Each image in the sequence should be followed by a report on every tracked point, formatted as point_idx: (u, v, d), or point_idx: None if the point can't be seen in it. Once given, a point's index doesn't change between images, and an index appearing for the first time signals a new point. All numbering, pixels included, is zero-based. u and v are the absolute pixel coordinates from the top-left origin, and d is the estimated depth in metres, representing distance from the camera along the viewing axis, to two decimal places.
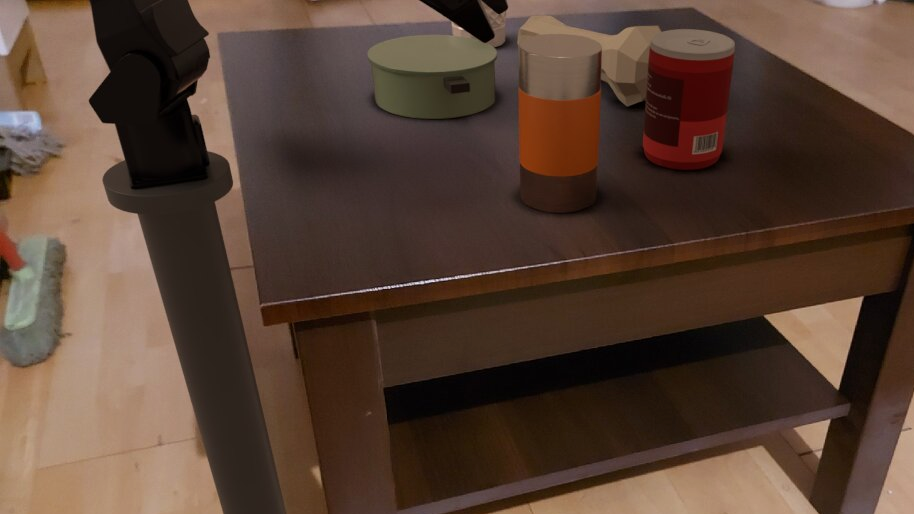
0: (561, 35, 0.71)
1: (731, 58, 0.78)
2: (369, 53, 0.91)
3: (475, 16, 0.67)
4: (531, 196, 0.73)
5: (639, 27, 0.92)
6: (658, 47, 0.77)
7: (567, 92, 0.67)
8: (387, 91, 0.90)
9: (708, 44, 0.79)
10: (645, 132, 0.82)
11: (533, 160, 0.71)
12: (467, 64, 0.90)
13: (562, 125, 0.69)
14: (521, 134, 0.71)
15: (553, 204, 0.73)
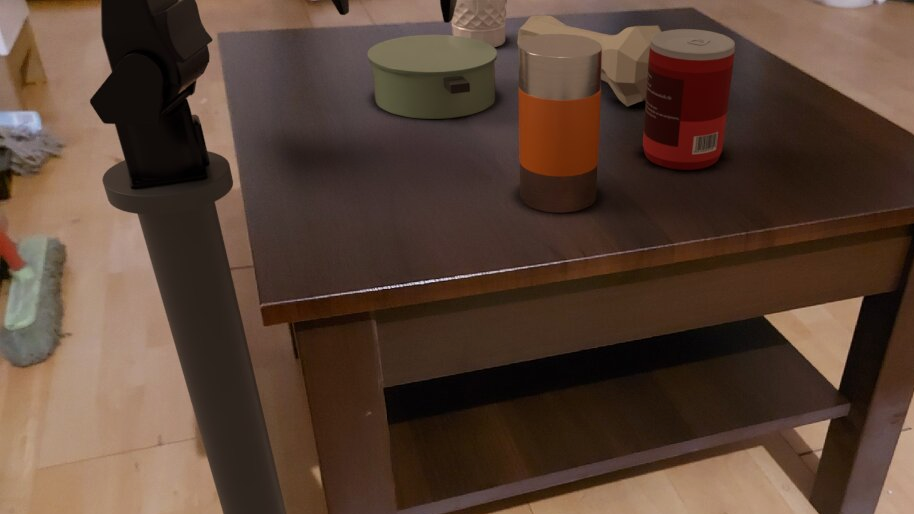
0: (561, 35, 0.71)
1: (731, 58, 0.78)
2: (369, 53, 0.91)
3: None
4: (531, 196, 0.73)
5: (639, 27, 0.92)
6: (658, 47, 0.77)
7: (567, 92, 0.67)
8: (387, 91, 0.90)
9: (708, 44, 0.79)
10: (645, 132, 0.82)
11: (533, 160, 0.71)
12: (467, 64, 0.90)
13: (562, 125, 0.69)
14: (521, 134, 0.71)
15: (553, 204, 0.73)
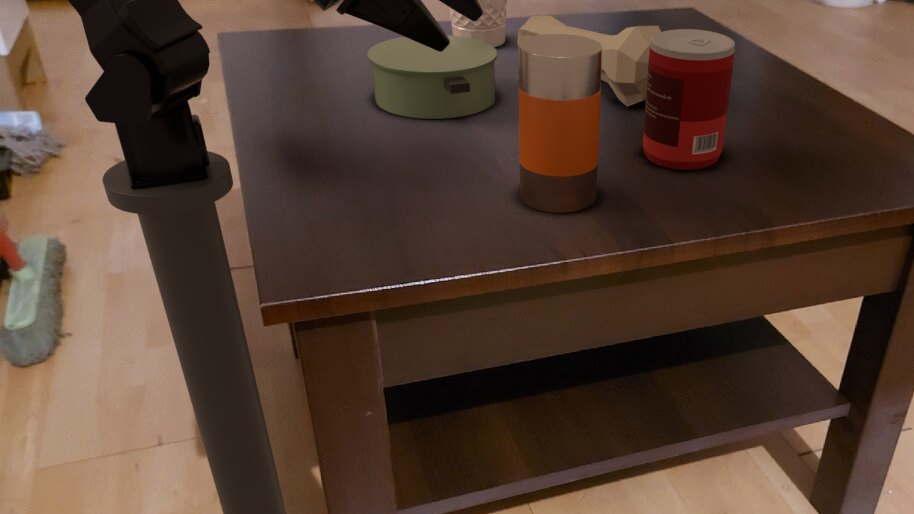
0: (561, 35, 0.71)
1: (731, 58, 0.78)
2: (369, 53, 0.91)
3: (423, 25, 0.64)
4: (531, 196, 0.73)
5: (639, 27, 0.92)
6: (658, 47, 0.77)
7: (567, 92, 0.67)
8: (387, 91, 0.90)
9: (708, 44, 0.79)
10: (645, 132, 0.82)
11: (533, 160, 0.71)
12: (467, 64, 0.90)
13: (562, 125, 0.69)
14: (521, 134, 0.71)
15: (553, 204, 0.73)
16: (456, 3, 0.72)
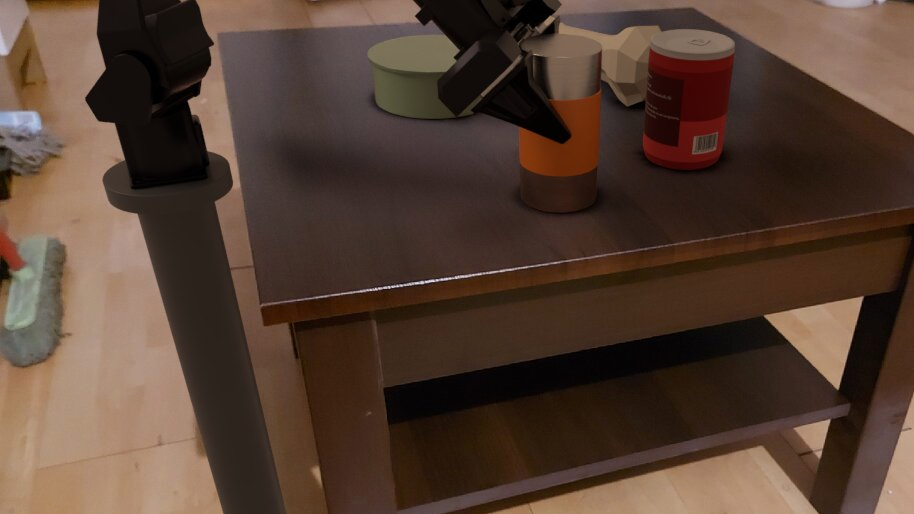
0: (561, 35, 0.71)
1: (731, 58, 0.78)
2: (369, 53, 0.91)
3: (548, 121, 0.68)
4: (531, 196, 0.73)
5: (639, 27, 0.92)
6: (658, 47, 0.77)
7: (567, 92, 0.67)
8: (387, 91, 0.90)
9: (708, 44, 0.79)
10: (645, 132, 0.82)
11: (533, 160, 0.71)
12: None
13: None
14: (521, 134, 0.71)
15: (553, 204, 0.73)
16: None
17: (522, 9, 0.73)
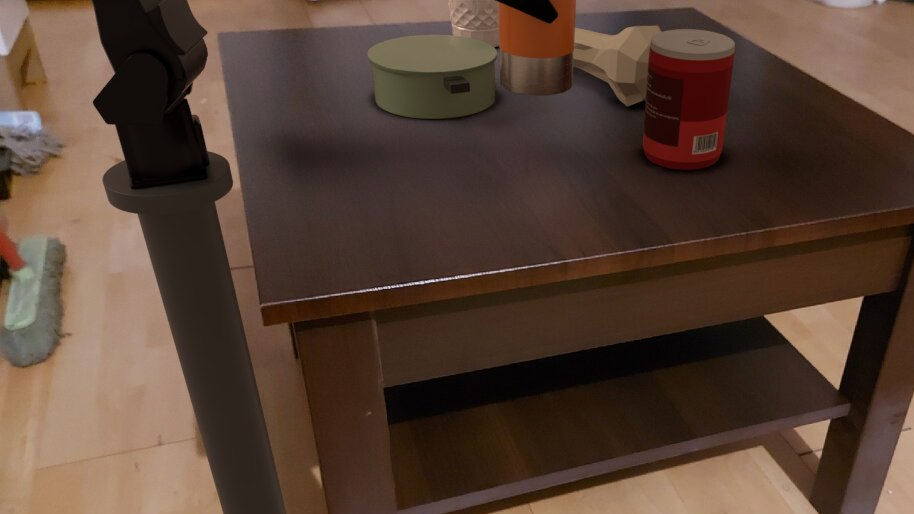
0: None
1: (731, 58, 0.78)
2: (369, 53, 0.91)
3: (538, 0, 0.71)
4: (517, 81, 0.76)
5: (639, 27, 0.92)
6: (658, 47, 0.77)
7: None
8: (387, 91, 0.90)
9: (708, 44, 0.79)
10: (645, 132, 0.82)
11: (520, 43, 0.74)
12: (467, 64, 0.90)
13: None
14: (505, 19, 0.74)
15: (540, 87, 0.76)
16: None
17: None
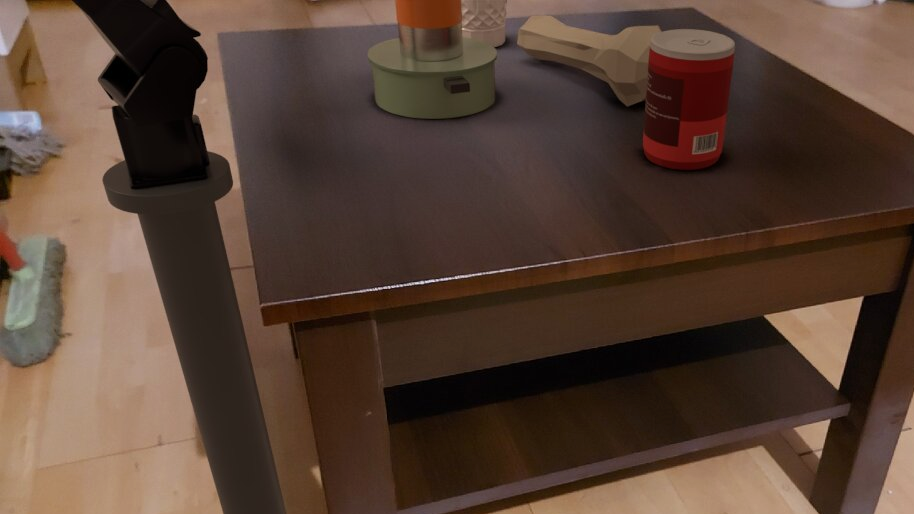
0: None
1: (731, 58, 0.78)
2: (369, 53, 0.91)
3: None
4: (429, 51, 0.89)
5: (639, 27, 0.92)
6: (658, 47, 0.77)
7: None
8: (387, 91, 0.90)
9: (708, 44, 0.79)
10: (645, 132, 0.82)
11: (430, 17, 0.87)
12: (467, 64, 0.90)
13: None
14: None
15: (449, 52, 0.90)
16: None
17: None
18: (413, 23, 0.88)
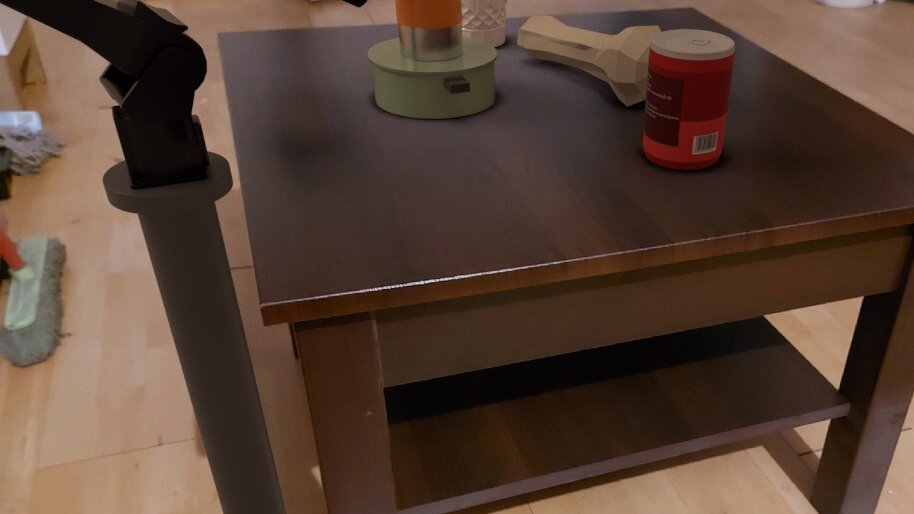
0: None
1: (731, 58, 0.78)
2: (369, 53, 0.91)
3: None
4: (429, 51, 0.89)
5: (639, 27, 0.92)
6: (658, 47, 0.77)
7: None
8: (387, 91, 0.90)
9: (708, 44, 0.79)
10: (645, 132, 0.82)
11: (430, 17, 0.87)
12: (467, 64, 0.90)
13: None
14: None
15: (449, 52, 0.90)
16: None
17: None
18: (413, 23, 0.88)
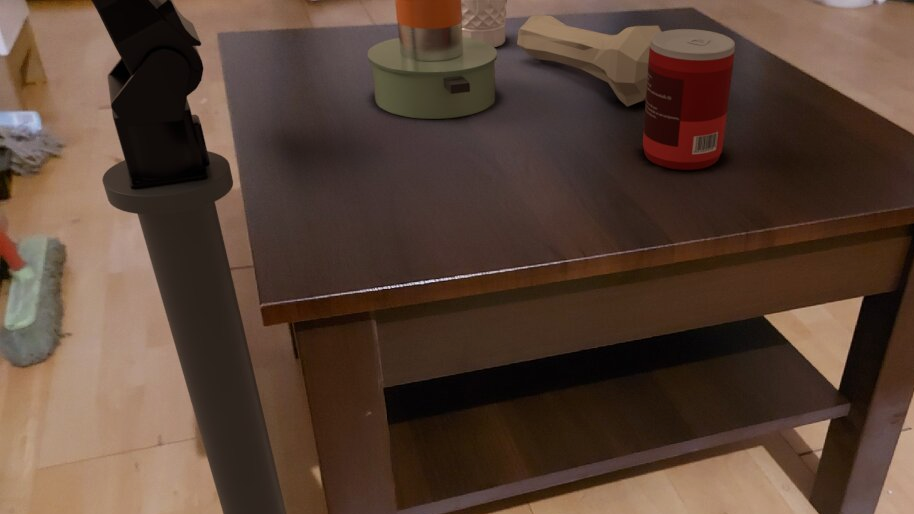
0: None
1: (731, 58, 0.78)
2: (369, 53, 0.91)
3: None
4: (429, 51, 0.89)
5: (639, 27, 0.92)
6: (658, 47, 0.77)
7: None
8: (387, 91, 0.90)
9: (708, 44, 0.79)
10: (645, 132, 0.82)
11: (430, 17, 0.87)
12: (467, 64, 0.90)
13: None
14: None
15: (449, 52, 0.90)
16: None
17: None
18: (413, 23, 0.88)
